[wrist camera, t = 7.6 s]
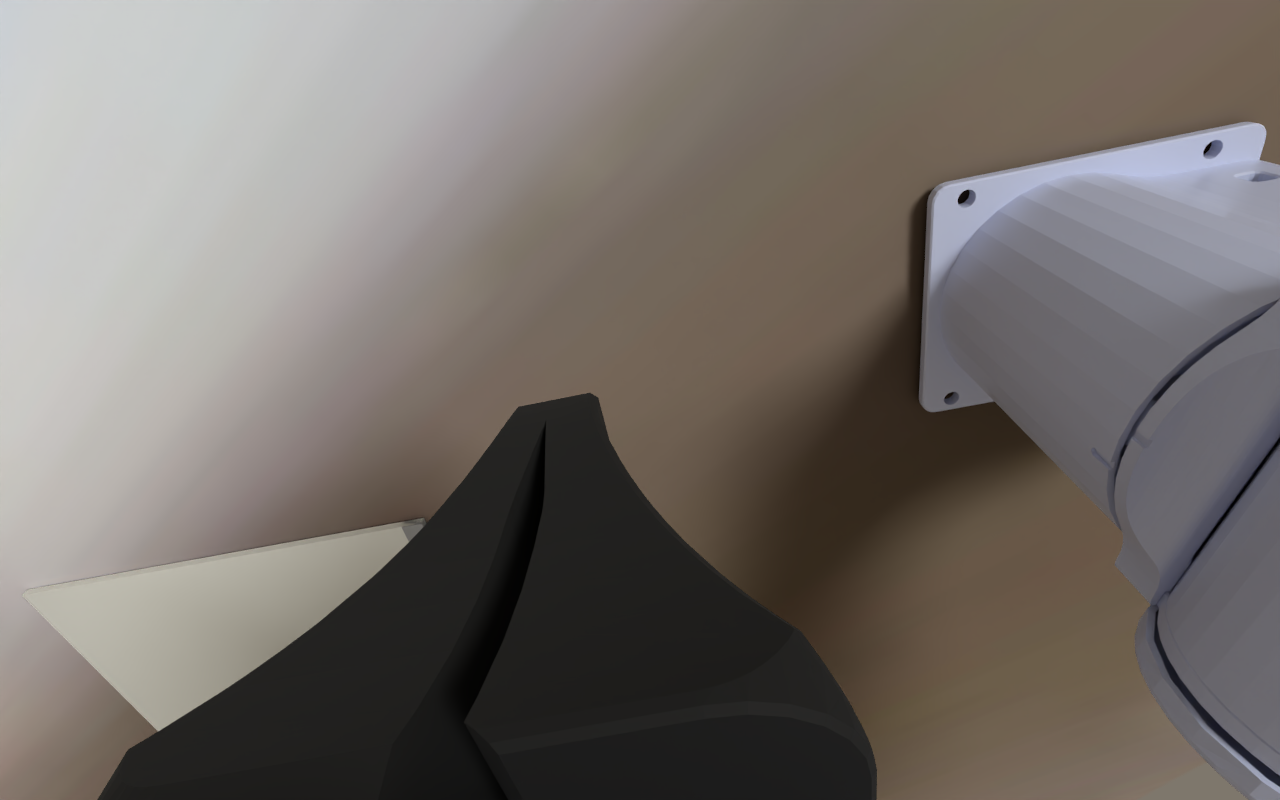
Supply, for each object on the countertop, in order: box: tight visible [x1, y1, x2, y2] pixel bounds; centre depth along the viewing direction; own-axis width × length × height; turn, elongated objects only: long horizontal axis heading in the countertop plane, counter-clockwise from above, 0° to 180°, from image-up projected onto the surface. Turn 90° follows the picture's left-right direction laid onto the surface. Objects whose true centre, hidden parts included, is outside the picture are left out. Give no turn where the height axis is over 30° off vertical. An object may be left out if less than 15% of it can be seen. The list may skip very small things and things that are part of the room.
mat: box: [22, 518, 427, 731], centre depth 29 cm, size 16×14×1 cm
